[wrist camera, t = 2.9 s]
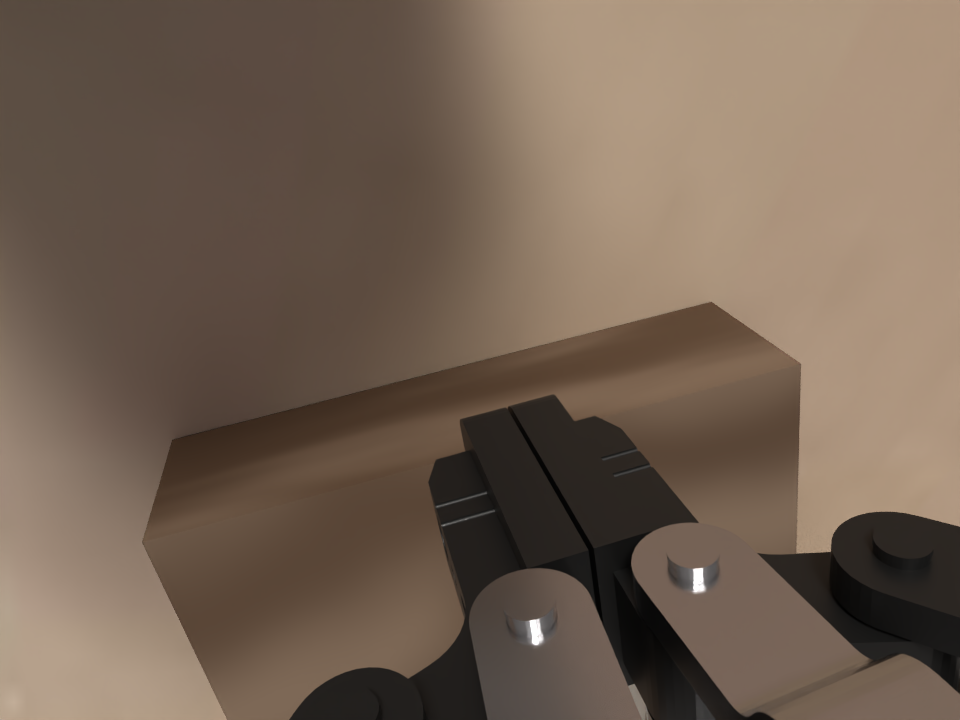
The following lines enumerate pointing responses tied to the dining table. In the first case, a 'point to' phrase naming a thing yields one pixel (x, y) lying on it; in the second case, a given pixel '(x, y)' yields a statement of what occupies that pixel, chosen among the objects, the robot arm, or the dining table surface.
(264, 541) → the hole board
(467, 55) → the dining table surface
